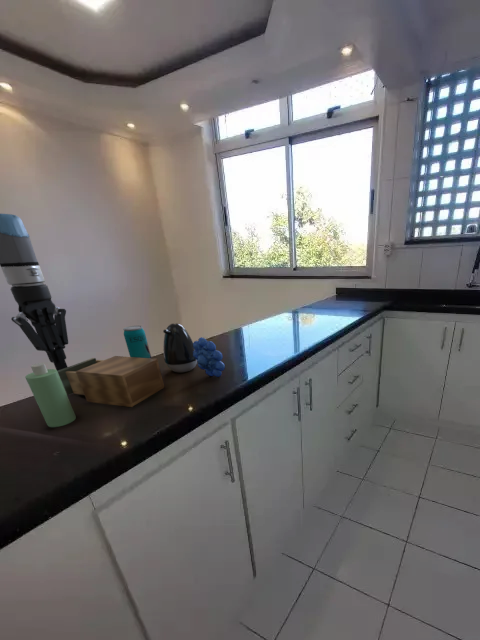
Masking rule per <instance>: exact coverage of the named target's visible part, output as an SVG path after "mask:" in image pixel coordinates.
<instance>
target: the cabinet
mask: <svg viewBox="0 0 480 640" xmlns="http://www.w3.org/2000/svg"><path fill="white" fill-rule="evenodd" d="M151 358H152V357H151ZM151 358H137V357H130V356H123V355H122V356H120V355H114V356H111V357H109V358H106V359H104V360H103V359H102V360H103V361H101V362H98V363H96V364H93V365H91V366H88V367H85V368H83V369H80V370H78V371H76V374H77V376H78V379H79V382H80V384H81V387H82V389H83V392H84V395H83V396H84V397H85V400H86V402H87V403H94V404H95V403H96V404H101V405H103V404H104V405H109V406H110V405H111V406H118V407H125V408H127V407H128V408H133V407H134V406H136V405H138V404H140V403H141V402H142V401H145V400H146V399H148V398H150V397H151V396H152V395H155V394H156V393H158V392H159V391H161V390H163V389H164V388H165V383H164V379H163V376H162V372H161V368H160V364H159V360H158V358H152V359H151Z"/></svg>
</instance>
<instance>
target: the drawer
mask: <svg viewBox="0 0 480 640" xmlns="http://www.w3.org/2000/svg"><path fill="white" fill-rule="evenodd" d="M101 361H103V359H97V358H96V357H91V358H89V359H86V360H83V361H81V362H77V363H75V364H71V365H70V366H67V368H64V369H61V370H58V371H57V372H58V374H59V377H60V379H61V381H62V384H63V386H64V389H65V391H66V394H67V396H70V395H72V394H75V395H81V396H85V395H84V392H83V389H82V387H81V384H80V382H79V379H78V376H77V374H76V371H78V370H80V369H83V368H85V367H88V366H91V365H93V364H96V363H98V362H101Z"/></svg>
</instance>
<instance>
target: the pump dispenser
mask: <svg viewBox="0 0 480 640" xmlns="http://www.w3.org/2000/svg"><path fill="white" fill-rule="evenodd" d="M162 333H163V334H164V336H163V344H162V346H163V349H162V350H163V359H164V363H165V364H166V365H167V367H168V368H169V369H170V371H172V372H175V373H178V374H179V373H181V374H182V373H188V372H190V371H192V370H194V368H196V366H197V365H198V362H197V359H195V358H194V356H193V351H194V350H195V349H194V347H193V343H194V341H193V339H192V337H191V335H190V333H189V332H188V331H187V329H186V328H185V327H184V326H183V325H182V324H180V323H178V322H173V323H170V324H168V325H167V326H166V329H163V332H162Z"/></svg>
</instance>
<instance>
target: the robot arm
mask: <svg viewBox="0 0 480 640" xmlns="http://www.w3.org/2000/svg"><path fill="white" fill-rule="evenodd" d="M0 268H1V270H2V273H3V276H4V277H5V281H6V283H7V284H8V285H10V286H11V287H10V291H11V294H12V297H13V299H14V301H15V302H16V303H17V306H18V308H17V309H18V310H17V311H18V314H16V316H12V317H11V321H12V322H13V323H14V324H15V325H17V326H18V327H19V328H20V329H21V331H22V332H23V334H24V335H25V336H26V338H27V339H28V340H29V341H30V343H31V344H32V346H33V347H34V349H35V350H36V351H39V352H40V351H41V352H45V353H46V355H47V358H48V360H49V362H50V363H53V365H54V369H55V370H57V371H58V370H61V369H64V368H67V367H68V365H67V362H66V360H67V355H66V353H65V350H64V349H66V345H68V344H69V337H68V330H67V324H66V323H67V322H66V314H67V310H66V309H65V308H60V307H58V306H56V304H55V303H54V302H53V301H52V298H53V296H52V294H51V292H50V289H49V286H48V285H47V284H44V283H45V282H46V278H45V276H44V273H43V271H42V267H41V266H40V263H39V262H38V259H37V255H36V253H35V250H34V247H33V243H32V241H31V238H30V234H29V233H28V231H27V229H26V226H25V224H24V222H23V220H22V218H21V217H20V216H19V215H16V214H11V213H0ZM29 321H30V322H29Z"/></svg>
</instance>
